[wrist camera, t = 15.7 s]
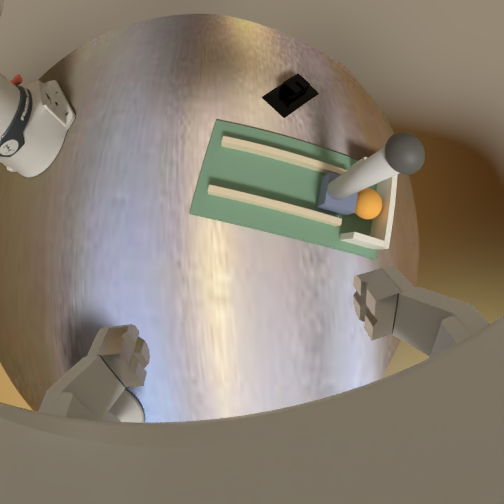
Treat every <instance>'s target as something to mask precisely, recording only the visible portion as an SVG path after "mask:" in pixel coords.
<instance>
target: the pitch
mask: <svg viewBox="0 0 504 504" xmlns="http://www.w3.org/2000/svg"><path fill="white" fill-rule="evenodd" d="M223 136H227V137H231V138H236V139H240V140H245V141H249V142H253V143H257V144H261V145H265V146H269V147H273V148H277V149H280V150H284V151H287V152H291V153H294V154H298V155H301V156H305V157H308V158H311V159H314V160H317V161H321V162H324V163H327V164H330V165H333V166H336V167H339V168H342V169H344V170H347V171H348V170H349V169H351V166H352V165H353V164H354V163H356V162H357V161H358V160H356V159H353V158H350V157H348V156H345V155H342V154H339V153H337V152H334V151H331V150H328V149H325V148H322V147H319V146H316V145H313V144H309V143H306V142H303V141H300V140H296V139H293V138H289V137H286V136H282V135H279V134H275V133H271V132H267V131H263V130H259V129H255V128H251V127H247V126H243V125H238V124H234V123H229V122H224V121H219V120H216V123H215V127H214V130H213V133H212V136H211V139H210V142H209V146H208V149H207V152H206V156H205V159H204V162H203V166H202V169H201V173H200V176H199V180H198V184H197V187H196V191H195V195H194V199H193V202H192V206H191V210H190V214H192V215H196V216H201V217H205V218H210V219H214V220H218V221H223V222H227V223H231V224H236V225H240V226H244V227H248V228H253V229H257V230H261V231H265V232H269V233H273V234H277V235H282V236H286V237H290V238H294V239H298V240H302V241H306V242H310V243H314V244H318V245H322V246H325V247H329V248H333V249H337V250H341V251H345V252H349V253H352V254H356V255H360V256H364V257H367V258H371V259H376V254H377V249H370V248H366V247H363V246H359V245H355V244H352V243H348V242H345V241H341V240H339V238H340V234H343V233H349V232H357V233H360V234H364V235H367V236H370V231H371V225H372V219H363V218H361V217H359V216H358V215H357V214H356V213H352V214H349V215H341V214H338V213H335V212H331V211H328V210H325V209H321V208H318V207H317V203H318V198H319V192H320V186H321V181H322V177H324V176H325V175H326V174H324V173H321V172H318V171H314V170H311V169H308V168H305V167H301V166H298V165H294V164H291V163H287V162H284V161H280V160H276V159H273V158H269V157H265V156H261V155H257V154H253V153H249V152H245V151H240V150H236V149H231V148H227V147H222V146H221V141H222V138H223ZM209 185H214V186H218V187H223V188H227V189H231V190H236V191H240V192H244V193H248V194H252V195H257V196H261V197H265V198H269V199H272V200H276V201H280V202H284V203H288V204H292V205H295V206H299V207H303V208H306V209H310V210H313V211H317V212H321V213H324V214H327V215H331V216H334V217H338V218H341V219H342V223H341V225H339V226H333V225H330V224H326V223H322V222H319V221H315V220H312V219H308V218H304V217H300V216H297V215H293V214H289V213H285V212H281V211H277V210H274V209H270V208H266V207H262V206H257V205H253V204H249V203H245V202H241V201H237V200H232V199H228V198H224V197H219V196H215V195H210V194H208V187H209ZM368 188H371V189H373V190H375V191H376V188H377V184H374V185H372V186H370V187H368Z"/></svg>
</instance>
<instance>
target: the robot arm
mask: <svg viewBox="0 0 504 504" xmlns="http://www.w3.org/2000/svg"><path fill="white" fill-rule="evenodd" d="M3 3H4V0H0V18H1V14H2V11H3ZM20 83H22V78H21V76H20V75H17V76H16V77H15V78H14V79H13V80H11V81H9V80H8V79H7V78H6V77H5V76H3V75H2V74H1V73H0V162H1V163H3V164H4V165H6V166H7V170H9V171H10V172H18V173H20V174H21V175H22V176H25V177H33V176H36V175H38V174H40V173H41V172H43V171H44V170H45V169H46V168H47V167H48V166H49V165H50V164H51V163H52V162H53V160H54V159H55V158H56V156H57V154H58V153H59V151H60V149H61V147H62V144H63V142H64V139H65V135H66V133H67V130H68V129H69V127H70V126H71V124H72V123H73V121H74V119H75V114H74V112H73V110H72V108H71V106H70V104H69V103H68V101H67V99H66V97H65V95H64V93H63V91H62V89H61V88H60V86H59V84H58V82H57V81H56V80H52V81H49V82H46V83H44V84H43V83H42V82H41V81H39V80H36V81H33V82H31V83H29V84H27V85H26V86H24V87H21V86H18V85H19V84H20ZM67 114H68V115H67ZM354 287H355V289H356V290H357V291H356V293H355V294H354V296H353V298H354V307H355V311H356V314H357V316H358V318H359V320H361V321H363V322H365V326H364V328H365V330H366V332H367V333H368V335H369V337H370V338H371V340H374V339H378V338H381V337H384V336H387V335H390V334H393V335H394V336H396V337H398V338H399V339H401V340H403V341H405V342H406V343H408V344H410V345H411V346H413V347H415V348H416V349H418V350H420V351H422V352H423V353H425V354H427V355H428V356H430V357H429V359H427V360H425V361H423V362H421V363H418V364H416V365H414V366H412V367H410V368H407V369H405V370H403V371H400V372H398V373H395V374H393V375H390V376H388V377H385V378H383V379H380V380H378V381H375V382H372V383H369V384H367V385H364V386H361V387H358V388H355V389H352V390H349V391H346V392H343V393H340V394H336V395H333V396H329V397H326V398H322V399H319V400H315V401H311V402H307V403H303V404H299V405H295V406H291V407H286V408H282V409H277V410H272V411H267V412H261V413H255V414H249V415H243V416H236V417H228V418H220V419H211V420H200V421H185V422H160V423H136V422H112V421H101V420H102V419H103V418H104V416H105V415H106V413H107V412H108V411H109V409H110V408H111V407H112V405H113V404H114V403H115V401H116V400H117V399H118V397H119V396H120V395H121V393H122V392H123V391H124V389H125V387H134V386H144V381H145V377H146V373H147V372H146V371H145V369H144V368H145V367H146V366H147V365H148V364H149V359H150V354H149V348H148V346H147V344H146V342H145V340H143V339H142V338H140V337H138V336H139V331H138V329H137V328H136V326H135V325H132V324H130V325H122V326H114V327H107V328H101V329H100V330H99V331H98V333H97V335H96V337H95V339H94V341H93V343H92V345H91V348H90V350H89V352H88V354H87V357H83V358H82V359H81V360H80V361H79V362H77V363H76V364H75V365H74V366H73V367H72V368H71V369H70V370H69V371H67V372H66V373H65V374H64V375H63V376H62V377H61V378H60V379H59V380H57V381H56V382H55V383H54V384H53V385H52V386H51V387H50V388H49V389H48V390H47V392H46V394H45V397H44V399H43V401H42V404H41V406H40V409H39V411H38V412H37V411H32V410H28V409H23V408H19V407H15V406H12V405H8V404H4V403H1V402H0V504H504V315H503V316H501V317H500V318H499V319H497V320H496V321H494V322H493V323H491V324H489V323H488V322H487V321H486V319H485V318H484V317H483V316H482V315H481V314H480V313H479V312H478V311H477V310H476V309H475V308H474V307H473V306H472V305H471V304H468V303H465V302H462V301H460V300H456V299H454V298H451V297H448V296H445V295H442V294H439V293H436V292H433V291H430V290H427V289H424V288H421V287H416V288H415V287H414V286H413V285H412V284H411V283H410V282H409V281H408V280H407V279H406V278H405V277H404V276H403V275H402V274H401V273H400V272H399V271H398V270H397V269H396V268H395V267H394V266H393V265H388V266H385V267H382V268H379V269H377V270H374V271H371V272H367V273H364V274H360V275H357V276H354Z"/></svg>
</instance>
